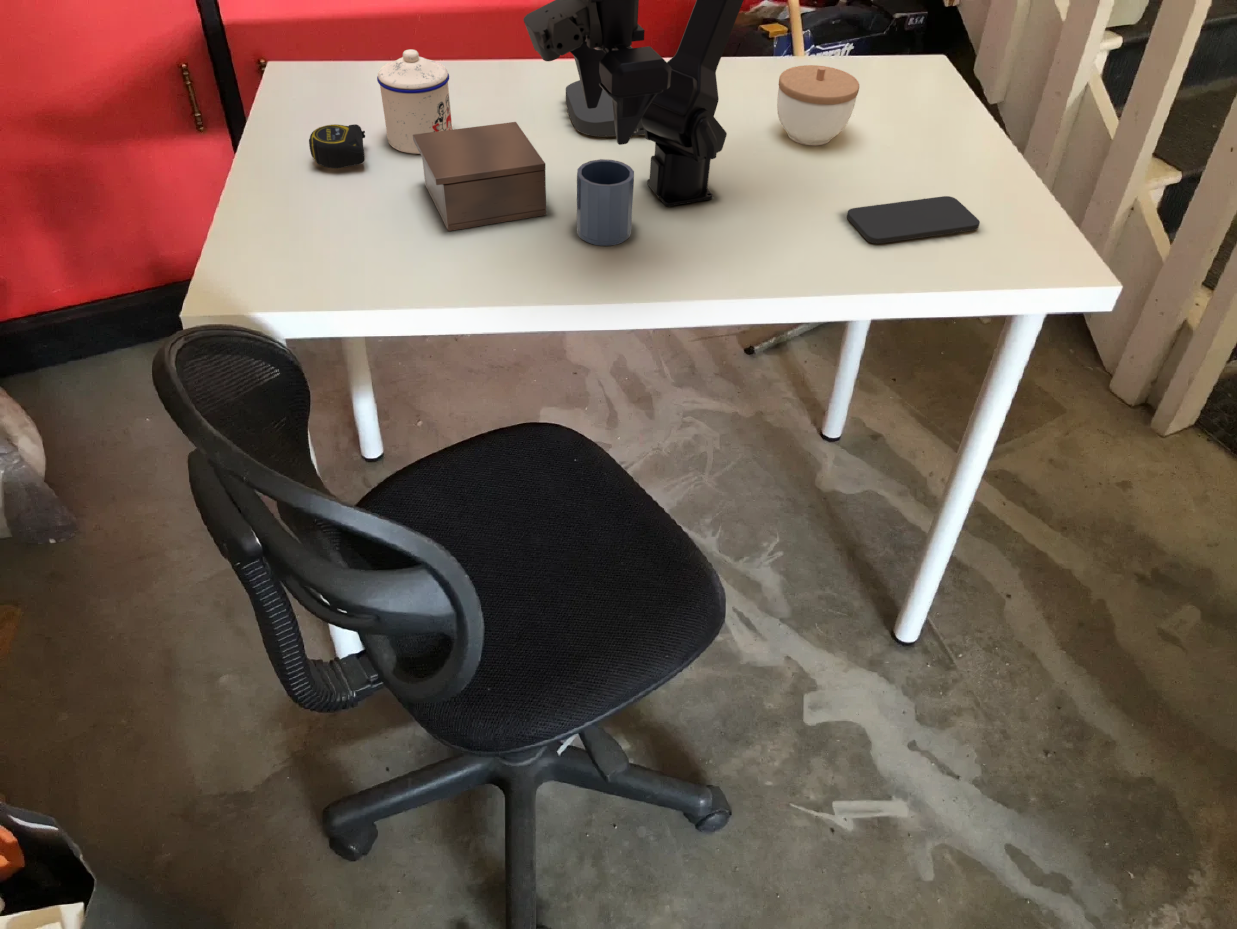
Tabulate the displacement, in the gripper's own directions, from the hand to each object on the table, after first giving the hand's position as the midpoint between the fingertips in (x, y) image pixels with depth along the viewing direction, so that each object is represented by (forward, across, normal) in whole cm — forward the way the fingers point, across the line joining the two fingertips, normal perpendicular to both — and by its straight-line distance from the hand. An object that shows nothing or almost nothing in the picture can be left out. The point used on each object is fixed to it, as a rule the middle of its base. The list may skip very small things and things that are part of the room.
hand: (606, 125), depth 101 cm
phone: (+13, +10, +36) cm, 40 cm away
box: (+13, -12, -11) cm, 21 cm away
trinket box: (+13, -15, +37) cm, 42 cm away
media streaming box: (+13, -29, +14) cm, 35 cm away
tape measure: (+13, -27, -25) cm, 39 cm away
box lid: (+7, -11, -12) cm, 18 cm away
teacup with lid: (+13, -31, -14) cm, 37 cm away
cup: (+13, 0, 0) cm, 13 cm away
